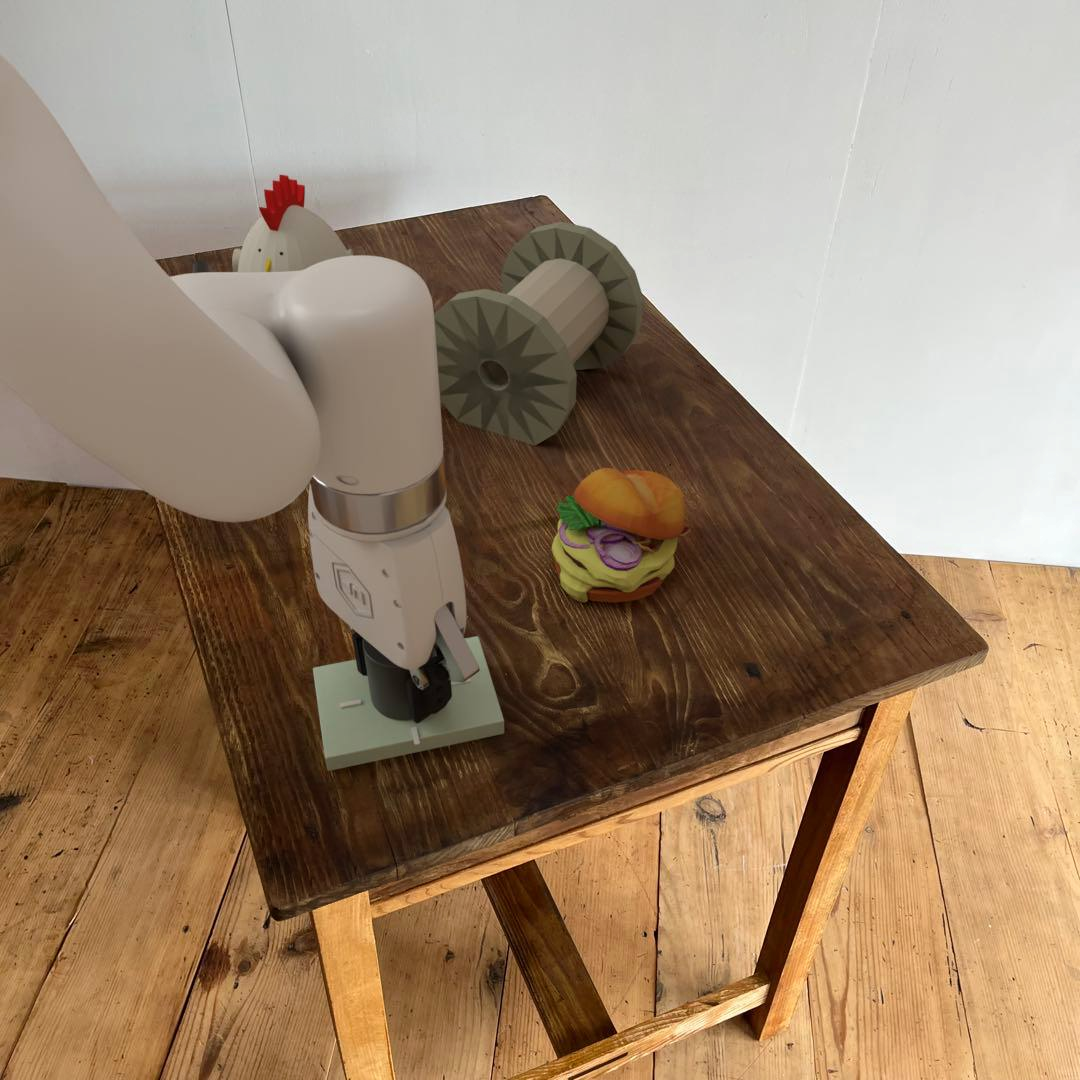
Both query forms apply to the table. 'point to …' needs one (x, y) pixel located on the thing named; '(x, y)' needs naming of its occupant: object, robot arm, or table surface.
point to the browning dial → (387, 683)
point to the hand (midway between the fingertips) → (404, 684)
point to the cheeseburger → (618, 535)
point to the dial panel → (372, 736)
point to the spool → (536, 332)
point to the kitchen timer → (287, 234)
